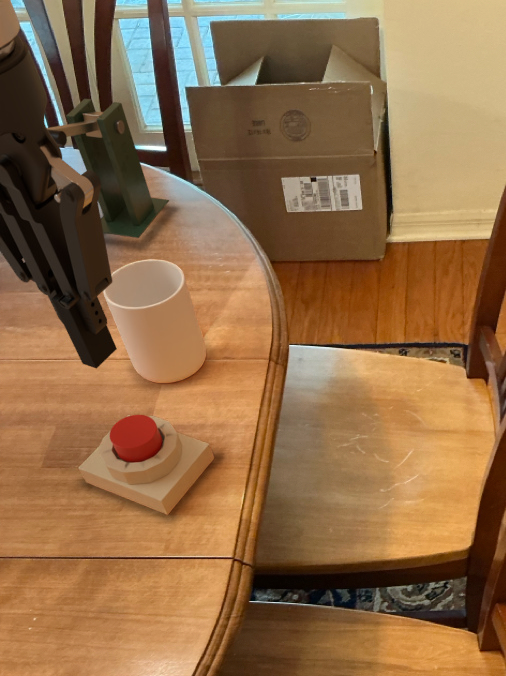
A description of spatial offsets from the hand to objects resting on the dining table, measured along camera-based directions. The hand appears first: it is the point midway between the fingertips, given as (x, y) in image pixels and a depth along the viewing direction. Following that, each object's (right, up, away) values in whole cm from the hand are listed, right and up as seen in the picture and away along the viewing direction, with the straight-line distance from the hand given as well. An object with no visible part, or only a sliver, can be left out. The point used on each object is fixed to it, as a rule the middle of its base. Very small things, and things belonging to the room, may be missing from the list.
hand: (99, 356), depth 65 cm
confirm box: (0, -9, +12) cm, 15 cm away
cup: (-1, +6, +23) cm, 24 cm away
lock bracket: (-11, +27, +38) cm, 48 cm away
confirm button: (0, -6, +9) cm, 11 cm away
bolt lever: (-13, +31, +24) cm, 41 cm away
